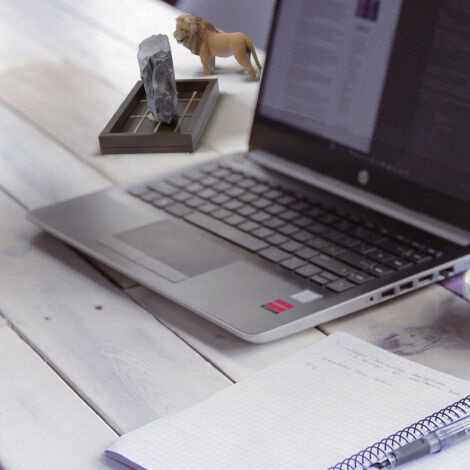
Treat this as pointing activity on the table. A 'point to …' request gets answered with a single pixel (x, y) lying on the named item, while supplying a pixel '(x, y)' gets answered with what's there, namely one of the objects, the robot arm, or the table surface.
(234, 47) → the lion figurine
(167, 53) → the stone
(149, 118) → the board
